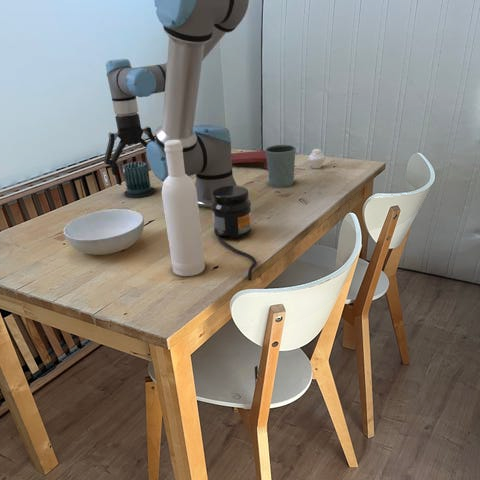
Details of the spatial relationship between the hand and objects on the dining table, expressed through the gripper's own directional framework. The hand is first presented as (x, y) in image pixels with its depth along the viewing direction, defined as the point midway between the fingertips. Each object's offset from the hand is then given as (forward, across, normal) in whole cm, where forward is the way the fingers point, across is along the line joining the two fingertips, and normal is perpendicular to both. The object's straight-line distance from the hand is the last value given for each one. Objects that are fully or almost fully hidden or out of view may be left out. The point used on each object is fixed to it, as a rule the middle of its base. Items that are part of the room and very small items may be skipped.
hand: (138, 180), depth 167 cm
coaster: (+4, 0, 0) cm, 5 cm away
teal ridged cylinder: (-1, +4, 0) cm, 4 cm away
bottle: (+6, +9, +64) cm, 64 cm away
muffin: (+5, -65, +14) cm, 66 cm away
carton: (+5, -46, -8) cm, 47 cm away
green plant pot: (+5, -44, +22) cm, 49 cm away
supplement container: (+6, -10, +50) cm, 52 cm away
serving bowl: (+5, +22, +38) cm, 45 cm away
